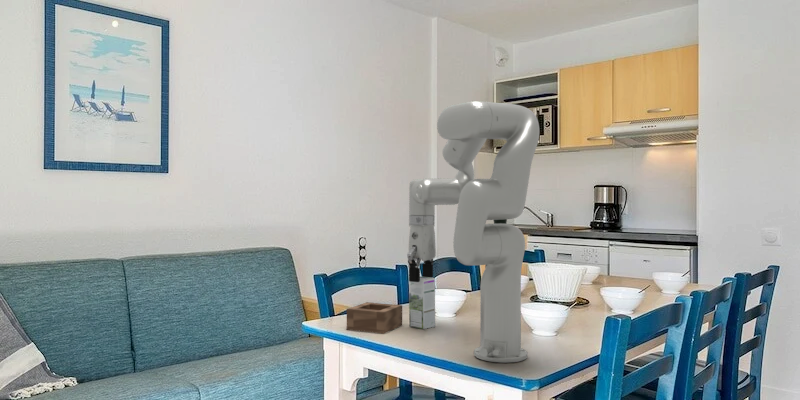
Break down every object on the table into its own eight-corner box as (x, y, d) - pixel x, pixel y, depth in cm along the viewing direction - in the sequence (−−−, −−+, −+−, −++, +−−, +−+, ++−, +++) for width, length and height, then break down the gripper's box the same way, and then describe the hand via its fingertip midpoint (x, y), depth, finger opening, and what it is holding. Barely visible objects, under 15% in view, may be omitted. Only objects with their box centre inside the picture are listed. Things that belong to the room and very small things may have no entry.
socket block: (383, 333, 166) (383, 312, 166) (346, 329, 171) (346, 308, 171) (402, 325, 177) (402, 305, 177) (366, 321, 182) (366, 302, 182)
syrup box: (436, 326, 175) (436, 277, 175) (422, 329, 171) (422, 279, 171) (421, 323, 179) (421, 275, 179) (408, 326, 175) (408, 277, 175)
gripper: (421, 223, 166) (421, 284, 166) (444, 220, 181) (443, 276, 182) (397, 222, 169) (396, 282, 169) (421, 219, 185) (421, 274, 185)
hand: (421, 279), depth 176 cm, fingers open, 9 cm apart
